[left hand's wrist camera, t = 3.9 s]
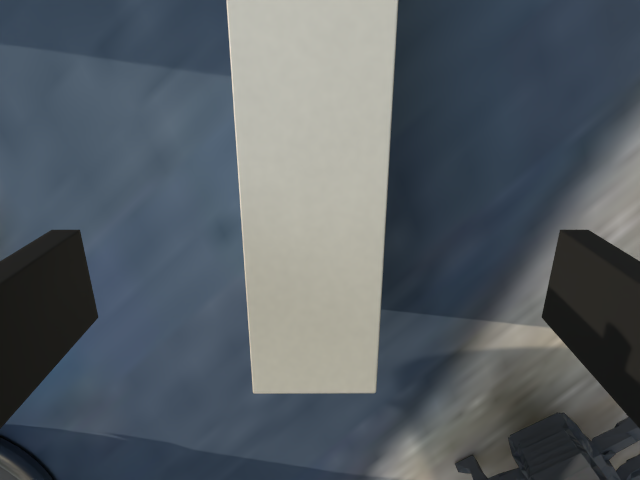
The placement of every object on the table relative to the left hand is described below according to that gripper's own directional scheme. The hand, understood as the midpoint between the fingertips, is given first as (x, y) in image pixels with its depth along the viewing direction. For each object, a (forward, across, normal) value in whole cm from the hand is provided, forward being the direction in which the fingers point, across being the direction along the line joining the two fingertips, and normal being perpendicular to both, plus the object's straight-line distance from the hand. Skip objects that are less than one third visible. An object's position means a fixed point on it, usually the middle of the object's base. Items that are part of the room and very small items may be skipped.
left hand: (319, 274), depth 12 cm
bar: (+13, 0, -21) cm, 25 cm away
